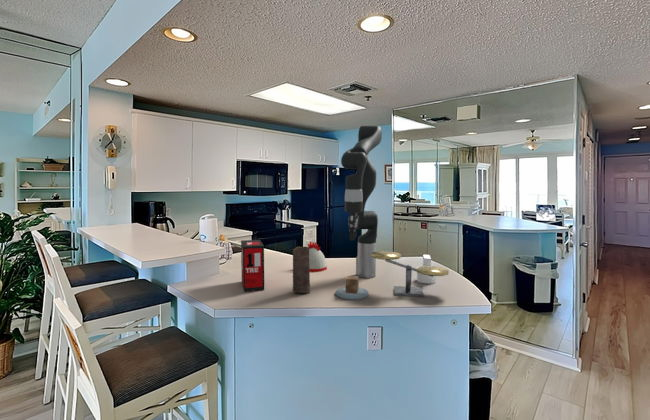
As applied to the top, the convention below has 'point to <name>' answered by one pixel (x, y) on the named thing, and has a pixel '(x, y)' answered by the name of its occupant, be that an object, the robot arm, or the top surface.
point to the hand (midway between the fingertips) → (353, 238)
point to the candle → (301, 270)
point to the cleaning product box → (252, 265)
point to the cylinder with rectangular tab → (426, 278)
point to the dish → (352, 294)
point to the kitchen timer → (316, 258)
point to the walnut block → (352, 284)
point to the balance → (409, 273)
